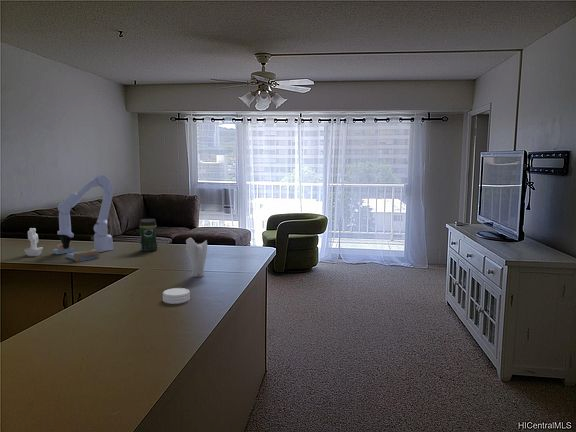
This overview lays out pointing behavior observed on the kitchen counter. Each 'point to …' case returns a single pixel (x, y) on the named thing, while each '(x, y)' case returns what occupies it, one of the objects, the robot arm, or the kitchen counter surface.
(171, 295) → the coaster
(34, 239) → the figurine
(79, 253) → the striped blue tabbed panel
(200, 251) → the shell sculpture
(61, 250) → the slab with raised block
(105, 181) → the robot arm
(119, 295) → the kitchen counter surface
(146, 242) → the coffee jar
